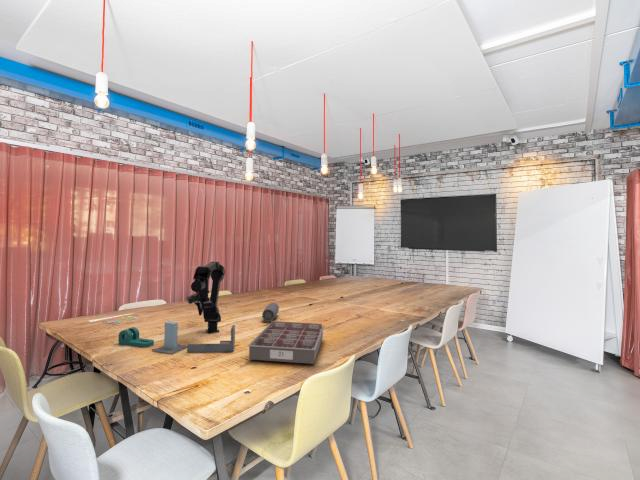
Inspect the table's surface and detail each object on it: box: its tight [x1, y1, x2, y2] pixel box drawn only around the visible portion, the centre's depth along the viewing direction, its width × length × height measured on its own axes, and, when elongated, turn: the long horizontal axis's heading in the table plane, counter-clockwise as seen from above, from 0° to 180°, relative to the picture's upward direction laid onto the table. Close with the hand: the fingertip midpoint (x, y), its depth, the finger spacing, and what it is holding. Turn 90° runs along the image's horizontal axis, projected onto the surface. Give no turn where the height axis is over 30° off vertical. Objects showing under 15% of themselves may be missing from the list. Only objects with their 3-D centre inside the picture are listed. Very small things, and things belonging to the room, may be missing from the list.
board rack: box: [186, 324, 236, 354], centre depth 169 cm, size 6×22×12 cm, turn 97°
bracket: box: [117, 326, 155, 349], centre depth 176 cm, size 18×7×8 cm, turn 75°
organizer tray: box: [247, 320, 325, 365], centre depth 173 cm, size 32×40×10 cm
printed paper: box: [88, 312, 140, 325], centre depth 222 cm, size 30×30×2 cm
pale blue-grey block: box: [163, 321, 179, 350], centre depth 170 cm, size 2×6×13 cm, turn 71°
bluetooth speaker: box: [261, 302, 280, 322], centre depth 235 cm, size 23×9×10 cm, turn 179°
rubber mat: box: [151, 343, 187, 355], centre depth 170 cm, size 12×12×1 cm
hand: (202, 317), depth 185 cm, fingers open, 9 cm apart
